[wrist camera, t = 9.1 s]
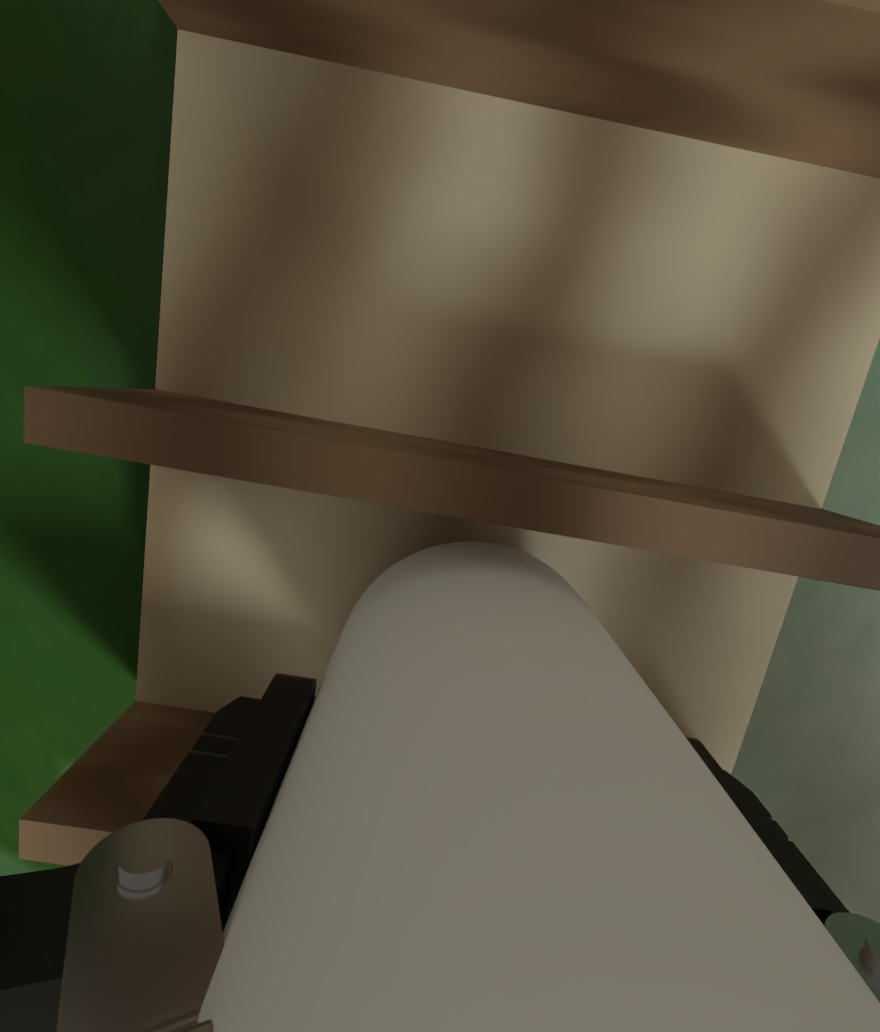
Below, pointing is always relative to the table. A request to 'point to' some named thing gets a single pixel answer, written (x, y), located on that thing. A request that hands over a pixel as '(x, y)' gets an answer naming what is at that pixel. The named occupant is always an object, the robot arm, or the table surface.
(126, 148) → the table surface
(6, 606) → the table surface
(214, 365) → the rack
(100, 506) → the table surface
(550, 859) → the can
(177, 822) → the robot arm
